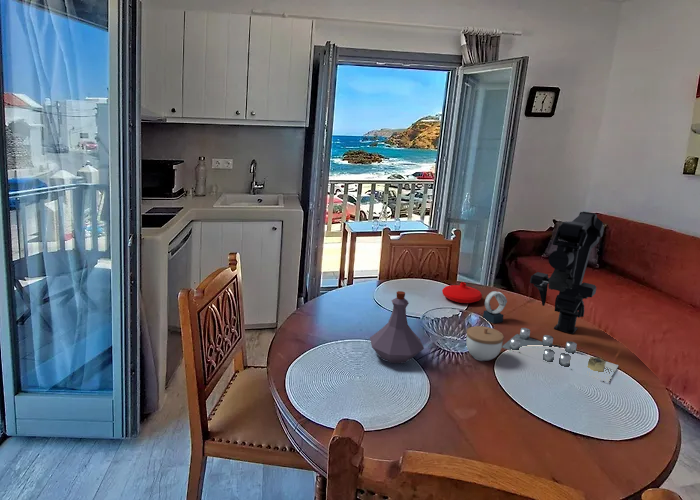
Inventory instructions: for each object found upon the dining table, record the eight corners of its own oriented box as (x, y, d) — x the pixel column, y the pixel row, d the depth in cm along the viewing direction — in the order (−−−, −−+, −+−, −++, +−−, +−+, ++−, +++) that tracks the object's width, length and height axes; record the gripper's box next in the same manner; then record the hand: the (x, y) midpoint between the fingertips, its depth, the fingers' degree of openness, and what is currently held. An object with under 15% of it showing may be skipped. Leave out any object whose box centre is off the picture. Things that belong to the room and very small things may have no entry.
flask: (427, 350, 150) (434, 288, 144) (416, 374, 134) (423, 307, 129) (376, 340, 155) (381, 280, 149) (360, 362, 139) (364, 296, 134)
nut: (590, 363, 147) (591, 355, 146) (605, 367, 144) (607, 359, 144) (586, 368, 143) (587, 360, 142) (601, 373, 141) (603, 365, 140)
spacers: (521, 335, 164) (522, 327, 163) (579, 353, 153) (581, 344, 152) (505, 348, 153) (507, 339, 152) (567, 368, 142) (569, 359, 141)
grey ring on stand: (506, 322, 175) (511, 293, 172) (488, 325, 172) (493, 295, 169) (496, 316, 180) (500, 288, 177) (478, 319, 177) (482, 290, 174)
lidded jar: (480, 368, 140) (484, 338, 138) (456, 352, 150) (460, 323, 147) (508, 361, 145) (512, 332, 143) (483, 346, 154) (487, 319, 152)
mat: (516, 335, 165) (516, 333, 165) (618, 366, 146) (618, 365, 146) (500, 348, 154) (501, 347, 154) (608, 383, 136) (608, 382, 136)
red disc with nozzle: (441, 304, 189) (443, 287, 188) (441, 291, 204) (442, 275, 203) (483, 309, 187) (485, 291, 185) (479, 295, 202) (481, 279, 200)
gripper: (527, 261, 152) (520, 308, 156) (592, 275, 141) (582, 325, 145) (539, 255, 160) (532, 299, 164) (600, 267, 150) (591, 314, 154)
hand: (558, 309), depth 157 cm, fingers open, 9 cm apart
